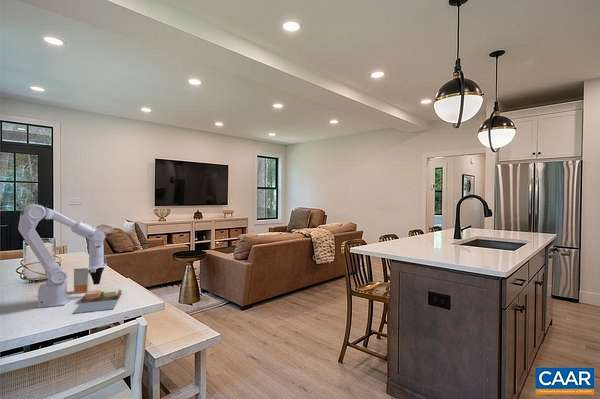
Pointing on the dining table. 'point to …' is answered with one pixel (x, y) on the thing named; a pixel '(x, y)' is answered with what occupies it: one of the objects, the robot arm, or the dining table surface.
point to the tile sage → (110, 292)
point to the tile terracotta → (93, 293)
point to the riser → (101, 297)
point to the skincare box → (82, 279)
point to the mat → (95, 306)
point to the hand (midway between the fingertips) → (96, 284)
